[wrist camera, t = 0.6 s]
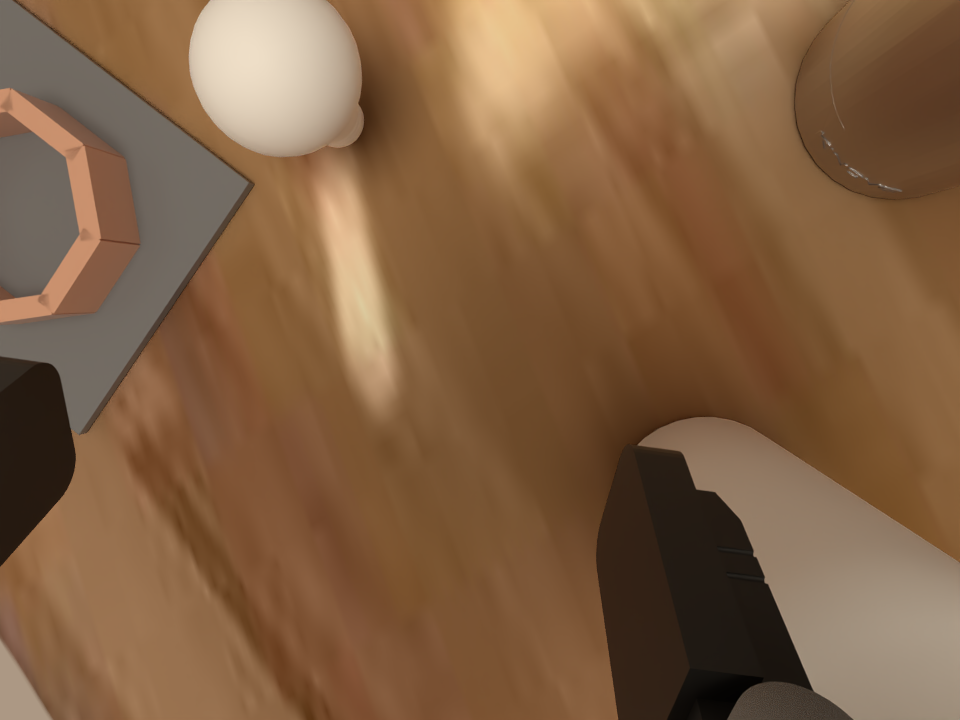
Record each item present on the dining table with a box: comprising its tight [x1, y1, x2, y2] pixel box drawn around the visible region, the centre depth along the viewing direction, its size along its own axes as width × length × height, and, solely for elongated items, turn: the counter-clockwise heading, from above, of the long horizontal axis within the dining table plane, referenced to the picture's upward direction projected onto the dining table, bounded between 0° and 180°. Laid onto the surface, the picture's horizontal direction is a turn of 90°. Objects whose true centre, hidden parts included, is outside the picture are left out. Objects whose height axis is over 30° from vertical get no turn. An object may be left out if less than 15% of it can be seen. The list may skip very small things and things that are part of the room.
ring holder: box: [0, 0, 254, 435], centre depth 33 cm, size 16×16×4 cm
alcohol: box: [638, 417, 960, 720], centre depth 18 cm, size 9×9×30 cm
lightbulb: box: [189, 0, 364, 157], centre depth 27 cm, size 6×6×11 cm
